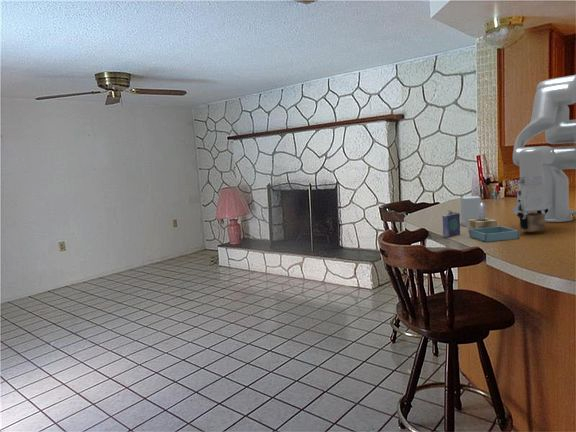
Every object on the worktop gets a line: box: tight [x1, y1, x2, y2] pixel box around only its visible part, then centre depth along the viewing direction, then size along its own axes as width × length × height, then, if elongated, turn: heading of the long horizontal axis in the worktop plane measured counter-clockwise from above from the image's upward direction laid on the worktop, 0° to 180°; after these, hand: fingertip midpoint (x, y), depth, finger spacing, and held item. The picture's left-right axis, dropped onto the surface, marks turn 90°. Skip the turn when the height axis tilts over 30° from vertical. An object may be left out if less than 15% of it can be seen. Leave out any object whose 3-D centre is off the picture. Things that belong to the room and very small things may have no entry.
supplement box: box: [460, 195, 482, 227], centre depth 189 cm, size 7×7×13 cm
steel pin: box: [478, 202, 486, 221], centre depth 172 cm, size 3×3×12 cm
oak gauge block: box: [467, 217, 498, 232], centre depth 172 cm, size 8×8×5 cm
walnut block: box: [519, 211, 546, 233], centre depth 162 cm, size 6×6×6 cm
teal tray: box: [469, 225, 520, 243], centre depth 160 cm, size 13×11×3 cm
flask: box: [441, 209, 461, 238], centre depth 170 cm, size 9×3×11 cm, turn 121°
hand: (532, 226), depth 162 cm, fingers closed on walnut block, 6 cm apart
